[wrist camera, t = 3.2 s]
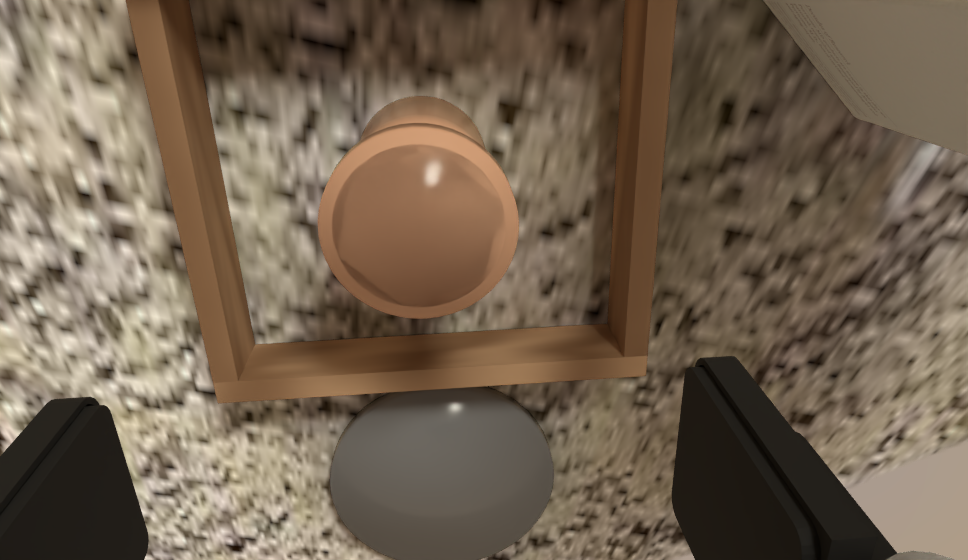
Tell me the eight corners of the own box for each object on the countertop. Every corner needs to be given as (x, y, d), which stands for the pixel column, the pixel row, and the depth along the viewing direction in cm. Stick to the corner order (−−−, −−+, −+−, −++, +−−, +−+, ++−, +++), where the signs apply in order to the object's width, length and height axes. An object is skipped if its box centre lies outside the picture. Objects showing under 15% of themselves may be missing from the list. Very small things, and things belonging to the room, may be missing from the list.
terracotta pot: (494, 82, 27) (518, 125, 19) (497, 227, 29) (519, 313, 22) (339, 88, 26) (304, 134, 19) (355, 234, 29) (330, 323, 22)
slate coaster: (552, 372, 32) (555, 382, 32) (549, 545, 37) (552, 557, 36) (318, 388, 32) (315, 397, 31) (345, 561, 36) (343, 573, 36)
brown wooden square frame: (657, -97, 24) (703, -110, 20) (627, 341, 32) (656, 395, 28) (142, -84, 23) (82, -94, 19) (236, 365, 31) (207, 425, 27)
